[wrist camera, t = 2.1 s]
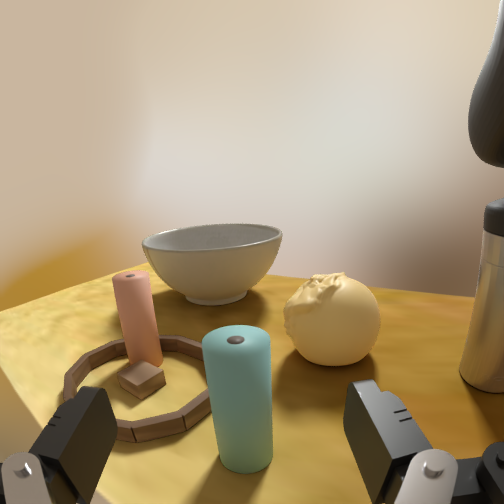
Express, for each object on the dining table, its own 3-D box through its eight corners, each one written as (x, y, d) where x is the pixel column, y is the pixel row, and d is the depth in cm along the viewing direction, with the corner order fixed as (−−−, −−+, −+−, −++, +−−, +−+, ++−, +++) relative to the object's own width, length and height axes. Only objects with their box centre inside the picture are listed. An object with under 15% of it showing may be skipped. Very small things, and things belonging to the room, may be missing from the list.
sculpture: (305, 327, 48) (306, 259, 45) (382, 339, 42) (389, 266, 39) (270, 365, 38) (268, 283, 36) (364, 385, 32) (375, 297, 30)
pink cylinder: (148, 349, 43) (133, 268, 40) (170, 359, 40) (156, 273, 37) (123, 362, 39) (105, 278, 36) (144, 374, 36) (126, 284, 34)
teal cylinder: (239, 431, 27) (228, 320, 24) (282, 447, 24) (282, 332, 22) (209, 459, 23) (187, 345, 20) (254, 481, 21) (244, 365, 18)
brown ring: (150, 335, 47) (148, 323, 46) (254, 373, 37) (253, 359, 36) (45, 386, 32) (40, 373, 31) (134, 470, 21) (128, 456, 21)
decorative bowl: (122, 306, 58) (112, 245, 56) (200, 269, 82) (196, 222, 79) (244, 335, 47) (239, 255, 44) (301, 280, 70) (301, 225, 67)
